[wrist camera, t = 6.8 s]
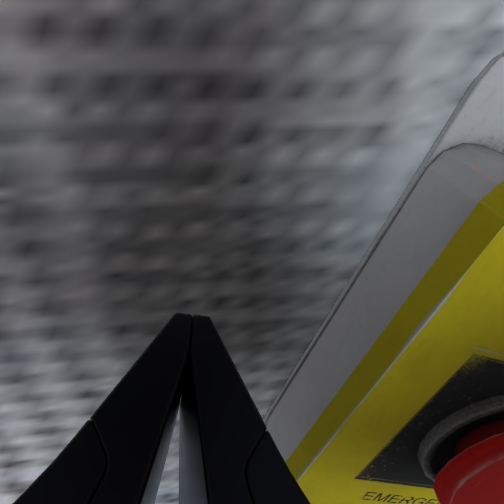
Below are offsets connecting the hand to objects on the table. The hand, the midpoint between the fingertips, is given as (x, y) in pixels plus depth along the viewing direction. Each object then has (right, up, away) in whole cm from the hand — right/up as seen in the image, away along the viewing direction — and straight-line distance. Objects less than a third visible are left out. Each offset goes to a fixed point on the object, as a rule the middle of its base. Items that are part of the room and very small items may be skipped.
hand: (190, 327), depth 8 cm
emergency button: (+8, -1, +3) cm, 9 cm away
